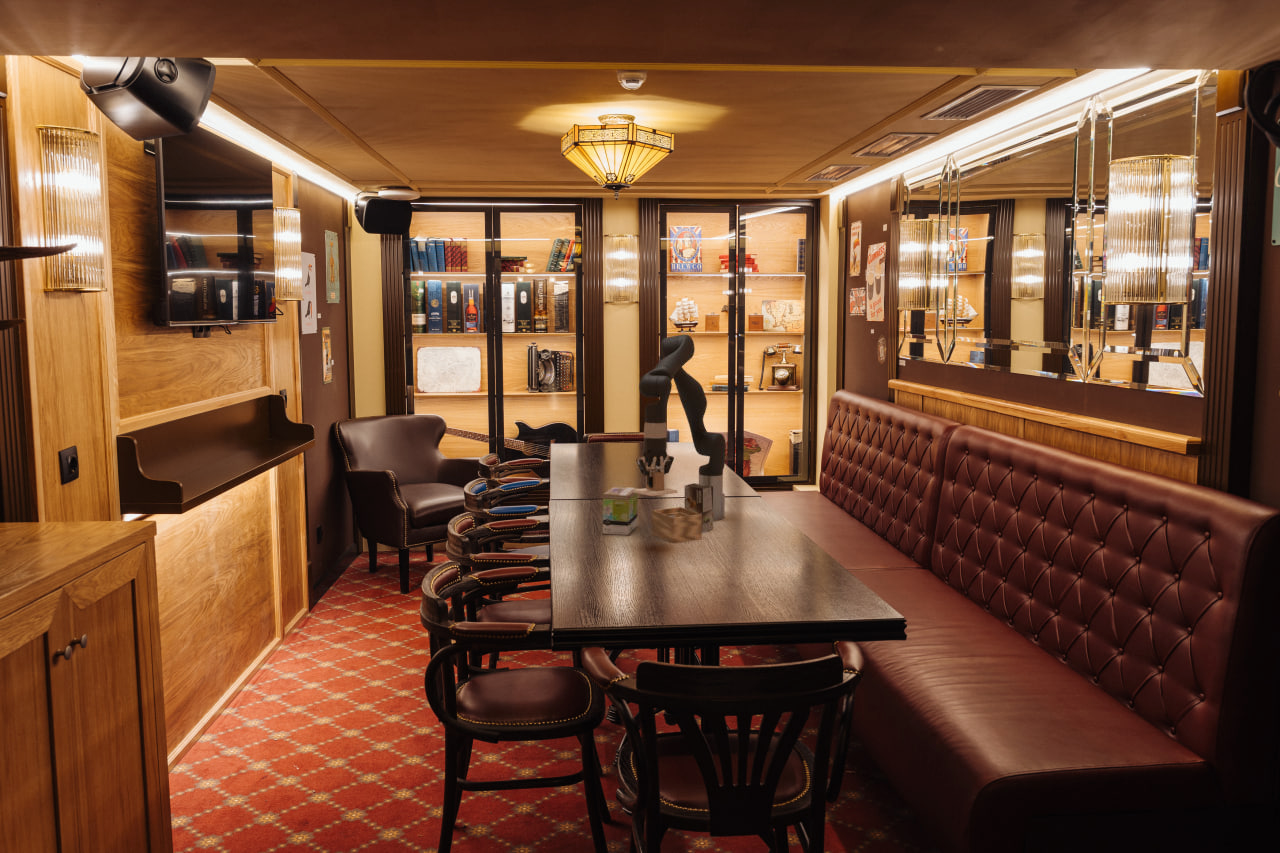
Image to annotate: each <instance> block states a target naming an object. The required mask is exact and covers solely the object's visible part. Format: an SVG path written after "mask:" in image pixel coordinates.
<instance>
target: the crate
mask: <svg viewBox="0 0 1280 853" xmlns="http://www.w3.org/2000/svg"><path fill="white" fill-rule="evenodd" d="M651 519H652V520H651V523H652V524H651V534H652V535H653V536H655V537H657V538H660V539H662V540H665V541H666V542H670V543H672V544H673V543H682V542H687V541H689V542H690V541H696V540H702V538H703V536H702V535H703V532H702V514H699V513H696V512H693V511H691V510H688V509H685V507H682V506H680V507H679V506H678V507H670V508H661V509H654V510H653V509H652V511H651Z"/></svg>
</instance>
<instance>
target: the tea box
mask: <svg viewBox="0 0 1280 853" xmlns="http://www.w3.org/2000/svg"><path fill="white" fill-rule="evenodd" d="M634 489H639V488H637V487H629V486H628V487H626V486H612V487H611V488H609V489H608V490H606V492H604V493H603V498H602V499H603V503H602V504H603V505H602V506H603V507H602V509H603V510H602V534H604V535H605V534H606V535H617V536H618V535H619V536H620V535H622V536H628V535H630V534H631V533H632V532H633V530H635V528H637V526H638V513H639V512H638V509H639V508H638V507H639V506H638V505H639V501H638V500H639V493H634Z"/></svg>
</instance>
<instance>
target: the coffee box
mask: <svg viewBox="0 0 1280 853" xmlns="http://www.w3.org/2000/svg"><path fill="white" fill-rule="evenodd" d="M683 487H684V508H685V509H688V510H691V511H693V512H696V513H699V514H702V533H705V532H708V531H711V530H714V520H713V486H708V485H702V484H699V483H694V482H693V483H690V484H687V485H684V486H683Z"/></svg>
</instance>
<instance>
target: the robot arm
mask: <svg viewBox="0 0 1280 853" xmlns="http://www.w3.org/2000/svg"><path fill="white" fill-rule="evenodd" d="M660 345H661V346H660V347H661V352H662V356H663V358H662V359H661V360H660V361H659V362H658V363H657V364H656V365H655V367H654V369H652V370H650V371H648V372H647V373H645V374H644V375H643V376H642V377H641V379H640V381H639V385H638V388H639V392H640V394H641V395H642V396H643V397H648V398H649V397H650V398H658V401H657V402H654V403H650V404H647V405H645V407H644V427H643V451H644V452H643V455H642V456H641V457H639V458H636V460H635V461H636V463H637V465H638V468H639V469H638V470H640V474H641V475H643V476H645V477H646V476H647V486H648V487H649V488H653V477H652V476H653V471H655V469H656V471H658V472H664V475H666V474H669V473H670V470H671V468H672V465H673V462H674V460H675V457H674V456H671V455H668V453H667V448H668V447H667V446H668V445H667V444H668V443H667V439H668V436H667V435H668V432H667V431H668V430H667V429H668V428H667V406H668V401H669V398H670V396H671V395H670V394H671V392H672V386H673V385H672V380H673V382H674V384H675V387H676V388H675V389H676V391H677V394H678V397H679V400H680V403H681V405H682V408H683V411H684V413H685V416H686V419H687V422H688V425H689V429H690V434H691V438H692V442H693V446H694V449H695V451H696V453H697V454H698V455H699V456H704V457H709V460H708V463H706V464H703V465H700V466H699V468H698V484H702V485H708V486H713V521H719V520H722V519H725V515H726V514H725V513H726V512H725V508H726V507H725V506H726V505H725V504H726V503H725V502H726V501H725V500H726V494H725V493H724V489H723V487H724V484H723V483H724V469H725V464H726V448H727V445H726V444H727V441H726V438H725V435H724V434H722V433H719V432H718V433H717V432H711V431H710V432H709V431H707V429H706V426H705V424H704V423H705V422H704V418H705V414H706V412H707V407H708V400H707V398H706V394H705V391H704V388H703V386H702V384H701V383H700V382H699V381H698V380H696V379H695V378H694V377H693V376H692V375H691V374H690V373H688V372H687V371H686V370H685V369H684V368H683V366H684V365H685V364H687V363H688V362H689V361H690V360H691V359H692V358H693V357H694V355H695V350H696V349H695V343H694V340H693V338H692V336H690V335H689V334H679V335H673V336H669V337H668V336H667V337H665V338H663V339H662V340H661V343H660ZM645 463H646V465H645Z"/></svg>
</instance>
